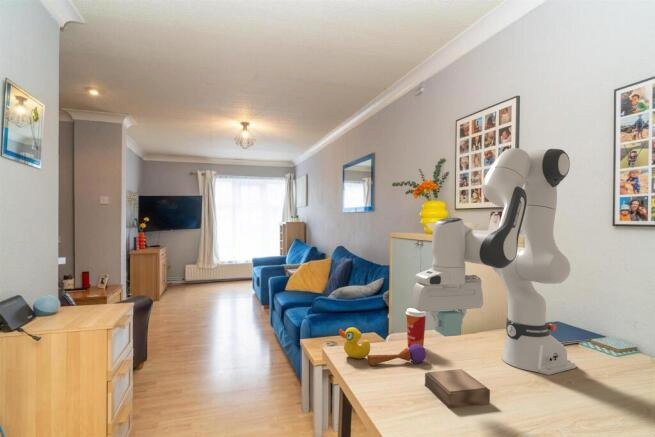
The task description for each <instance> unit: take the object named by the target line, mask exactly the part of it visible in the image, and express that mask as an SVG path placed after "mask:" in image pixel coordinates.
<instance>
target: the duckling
mask: <svg viewBox="0 0 655 437" xmlns="http://www.w3.org/2000/svg"><path fill="white" fill-rule="evenodd" d="M338 333H339V335H340V337H341V338H343V339H345V340H346V342H345V343H344V345H343V349H344V352H345V354H346V355H348V356H349V357H350V358H352V359H353V358H354V359H363V358H367V356H368V355H370V351H371V344H370V341H368V340H367V339H365V340H363V341H362V344H361V345H359V343H358V342H359V341H360V340H361V338H362V336H363V335H362V333H361V331H359V329H358V328H356V327H353V326H352V327H348V328H347V329H346V330H345V331H344V330H343V329H342V328H340V329H339V332H338Z"/></svg>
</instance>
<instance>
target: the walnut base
mask: <svg viewBox="0 0 655 437" xmlns="http://www.w3.org/2000/svg"><path fill="white" fill-rule="evenodd" d="M424 375H425V376H424V377H425V378H424V386H425V387H426V388H427V389H428V390H429V391H430V392H431V393H432V394H433V395H434V396H435V397H437V399H438V400H440V402H442V404H444V405H445V406H446V407H447V408H448V409H454V408H462V407H464V408H465V407H473V406H478V405H479V406H480V405H488V404H490V402H491V400H490V399H491V391H490V390H491V389H490V388H488V387H487V386H486V385H484V384H483V383H481V382H480V381H479V380H477V379H476V378H475V377H473V376H472V375H471V374H469V373H467V372H466V371H465V370H463V369H462V368H460V369H459V368H458V369H450V370H449V369H448V370H435V371H428V372H425V373H424Z"/></svg>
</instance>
